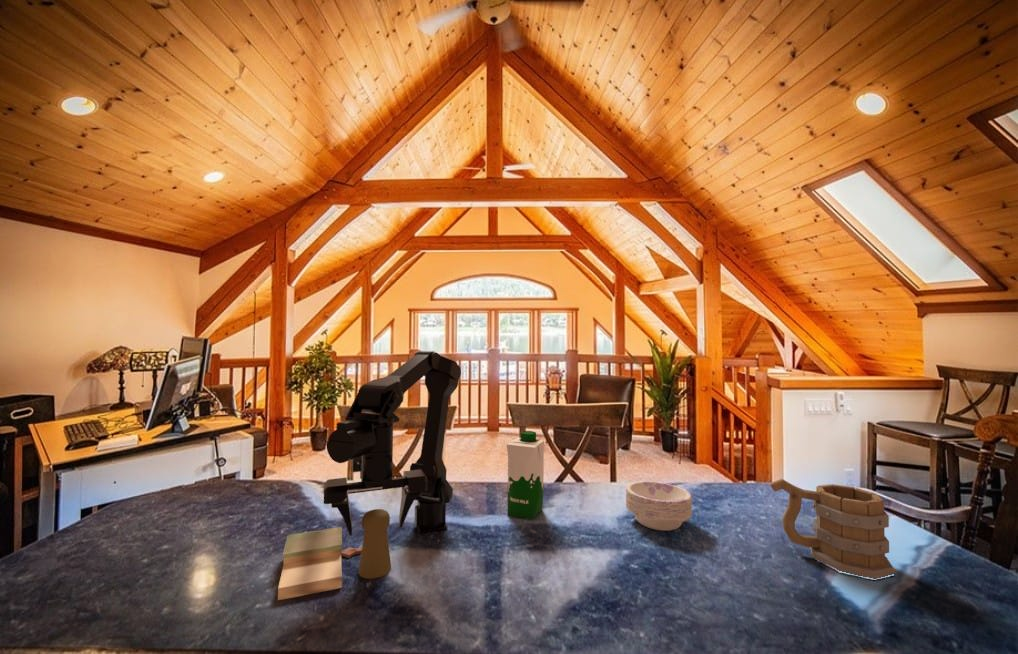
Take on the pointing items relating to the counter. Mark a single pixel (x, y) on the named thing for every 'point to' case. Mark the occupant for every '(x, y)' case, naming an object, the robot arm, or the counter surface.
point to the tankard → (842, 528)
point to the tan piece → (313, 563)
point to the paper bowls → (659, 504)
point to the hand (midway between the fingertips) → (376, 530)
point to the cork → (375, 545)
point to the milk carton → (525, 475)
